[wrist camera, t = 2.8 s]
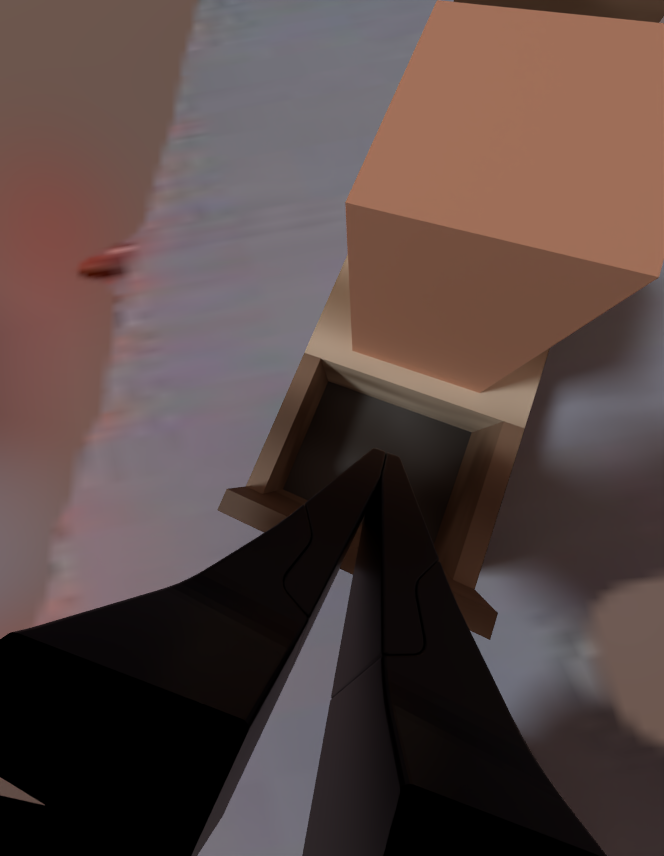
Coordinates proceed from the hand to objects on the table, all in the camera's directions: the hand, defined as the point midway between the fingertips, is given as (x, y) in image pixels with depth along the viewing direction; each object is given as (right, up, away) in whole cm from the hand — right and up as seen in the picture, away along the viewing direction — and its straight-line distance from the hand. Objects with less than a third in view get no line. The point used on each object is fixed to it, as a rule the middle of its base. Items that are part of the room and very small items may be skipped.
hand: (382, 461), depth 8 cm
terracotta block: (+4, +7, +6) cm, 10 cm away
